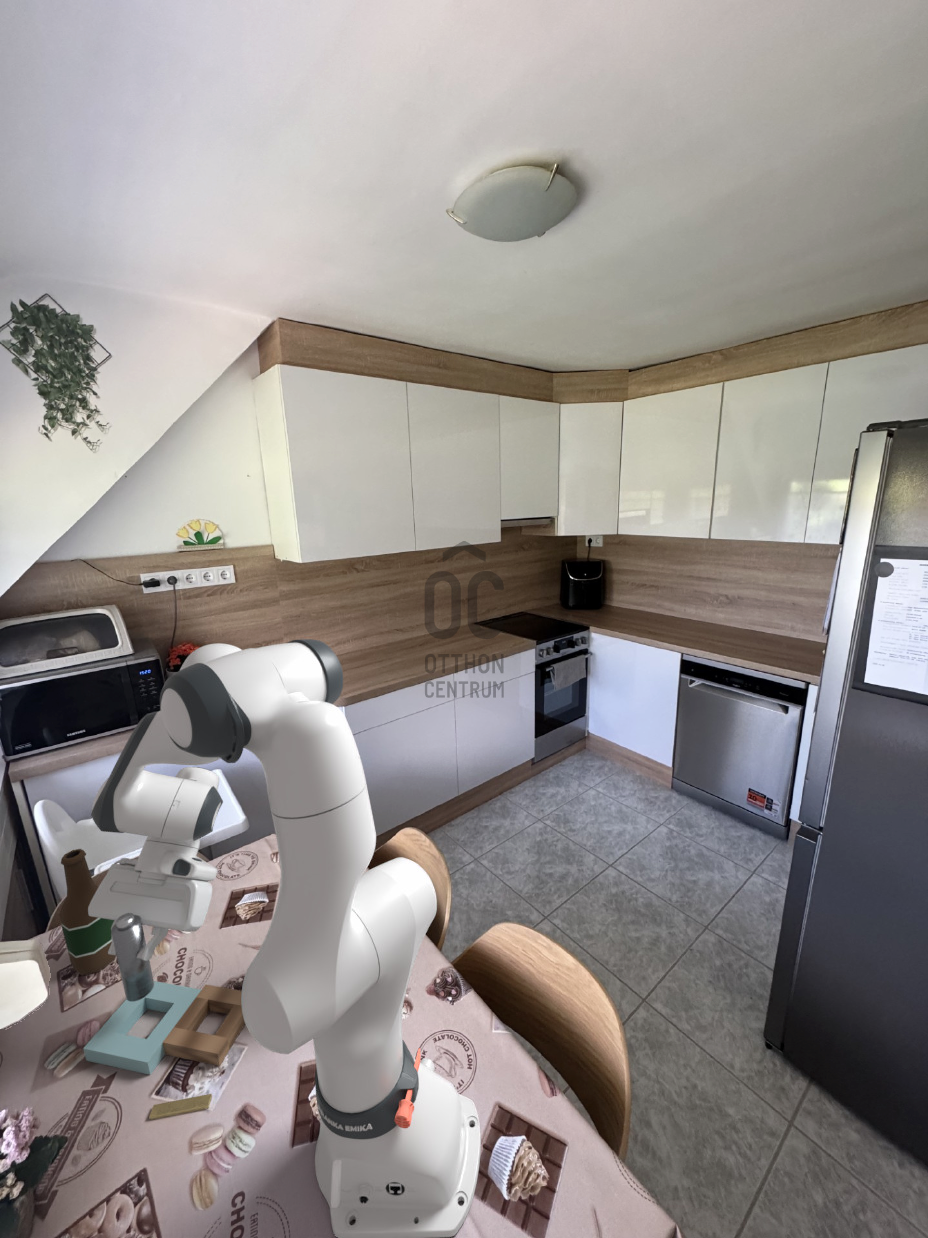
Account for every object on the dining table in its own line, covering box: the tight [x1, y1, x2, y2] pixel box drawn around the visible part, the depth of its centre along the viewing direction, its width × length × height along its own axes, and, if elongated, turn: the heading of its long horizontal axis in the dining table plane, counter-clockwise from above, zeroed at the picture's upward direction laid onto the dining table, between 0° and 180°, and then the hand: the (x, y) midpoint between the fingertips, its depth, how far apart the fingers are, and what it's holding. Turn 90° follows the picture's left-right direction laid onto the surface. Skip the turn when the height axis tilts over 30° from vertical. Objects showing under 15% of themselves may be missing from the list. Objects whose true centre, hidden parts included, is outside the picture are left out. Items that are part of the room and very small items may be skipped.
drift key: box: [148, 1093, 213, 1121], centre depth 73 cm, size 8×2×1 cm, turn 99°
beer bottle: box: [59, 848, 117, 977], centre depth 95 cm, size 8×8×24 cm
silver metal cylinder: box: [111, 913, 155, 1002], centre depth 81 cm, size 4×4×14 cm
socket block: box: [163, 984, 246, 1067], centre depth 83 cm, size 10×10×2 cm
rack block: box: [83, 980, 202, 1076], centre depth 84 cm, size 12×12×2 cm
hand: (128, 957), depth 80 cm, fingers closed on silver metal cylinder, 4 cm apart
